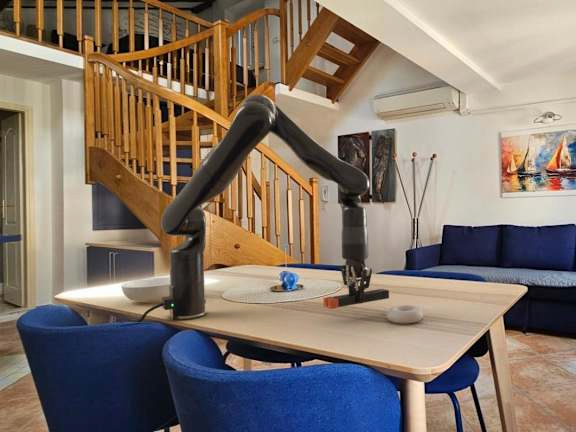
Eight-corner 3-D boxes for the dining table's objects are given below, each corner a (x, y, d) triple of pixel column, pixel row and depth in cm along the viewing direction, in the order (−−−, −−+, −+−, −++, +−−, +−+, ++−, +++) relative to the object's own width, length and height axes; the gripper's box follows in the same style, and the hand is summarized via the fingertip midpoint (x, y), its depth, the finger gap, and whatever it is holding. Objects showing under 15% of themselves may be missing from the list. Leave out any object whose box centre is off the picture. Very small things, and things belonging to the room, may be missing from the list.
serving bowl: (149, 294, 161) (149, 276, 161) (200, 294, 158) (200, 276, 158) (106, 306, 140) (106, 286, 140) (164, 307, 137) (163, 286, 137)
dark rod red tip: (381, 296, 127) (381, 288, 127) (389, 298, 124) (389, 290, 124) (323, 306, 116) (323, 297, 116) (330, 308, 112) (330, 300, 112)
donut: (418, 326, 108) (426, 316, 118) (417, 313, 108) (426, 304, 118) (381, 324, 112) (393, 314, 121) (381, 311, 111) (392, 302, 121)
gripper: (379, 242, 116) (381, 304, 116) (353, 240, 127) (354, 296, 127) (356, 244, 111) (358, 308, 111) (331, 241, 123) (332, 300, 123)
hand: (356, 301), depth 119 cm, fingers closed on dark rod red tip, 3 cm apart
